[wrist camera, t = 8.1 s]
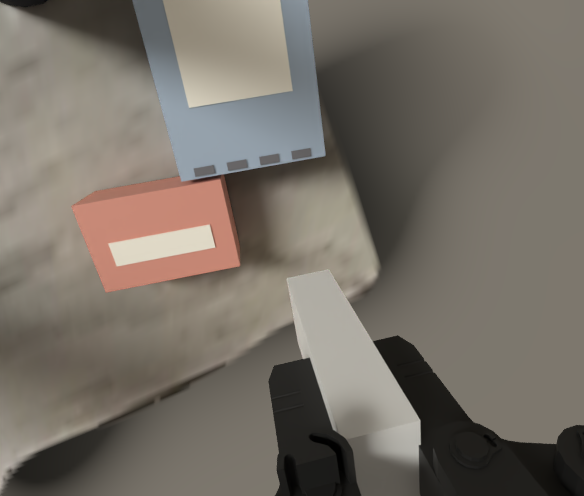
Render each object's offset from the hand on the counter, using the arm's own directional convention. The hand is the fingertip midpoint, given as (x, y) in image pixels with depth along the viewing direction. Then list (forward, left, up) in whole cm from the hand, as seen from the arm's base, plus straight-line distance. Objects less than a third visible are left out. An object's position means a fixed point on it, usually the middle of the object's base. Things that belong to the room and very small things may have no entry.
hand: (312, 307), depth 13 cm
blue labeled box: (-1, +10, -16) cm, 19 cm away
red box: (-8, 0, -16) cm, 18 cm away
